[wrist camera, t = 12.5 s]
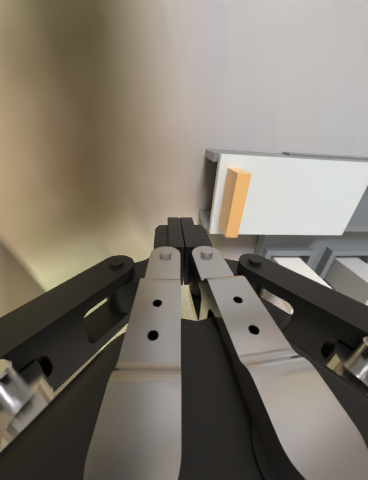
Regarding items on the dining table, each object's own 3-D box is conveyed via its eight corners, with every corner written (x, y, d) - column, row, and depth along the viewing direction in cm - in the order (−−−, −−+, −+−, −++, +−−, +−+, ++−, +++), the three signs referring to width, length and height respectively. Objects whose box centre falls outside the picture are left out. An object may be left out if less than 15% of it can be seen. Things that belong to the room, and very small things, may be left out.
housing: (191, 282, 32) (200, 328, 24) (206, 147, 22) (228, 156, 15) (342, 279, 35) (389, 319, 28) (412, 160, 25) (515, 173, 18)
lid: (208, 230, 23) (215, 247, 19) (219, 153, 18) (230, 158, 15) (336, 232, 24) (362, 247, 21) (371, 162, 20) (409, 168, 17)
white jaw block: (264, 276, 31) (290, 313, 25) (272, 255, 29) (301, 289, 23) (288, 276, 31) (318, 311, 25) (297, 255, 29) (332, 288, 23)
